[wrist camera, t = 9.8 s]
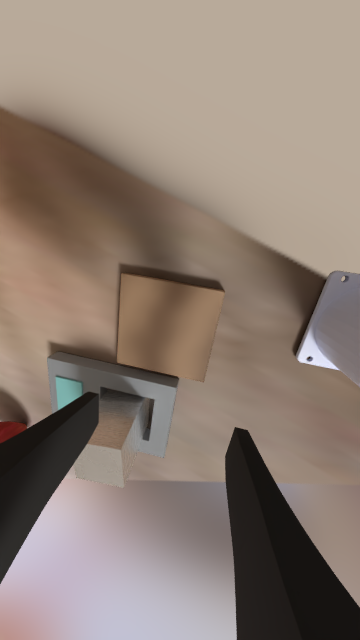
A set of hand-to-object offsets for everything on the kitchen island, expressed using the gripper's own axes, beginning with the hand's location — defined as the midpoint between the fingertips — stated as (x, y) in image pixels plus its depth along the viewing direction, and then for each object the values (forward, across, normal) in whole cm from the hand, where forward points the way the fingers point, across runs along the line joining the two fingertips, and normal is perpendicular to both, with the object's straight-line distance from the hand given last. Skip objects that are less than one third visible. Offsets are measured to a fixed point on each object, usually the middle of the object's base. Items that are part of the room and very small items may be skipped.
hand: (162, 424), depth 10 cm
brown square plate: (+9, +2, -2) cm, 10 cm away
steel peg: (+10, +5, +9) cm, 14 cm away
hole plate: (+9, +7, +9) cm, 15 cm away
